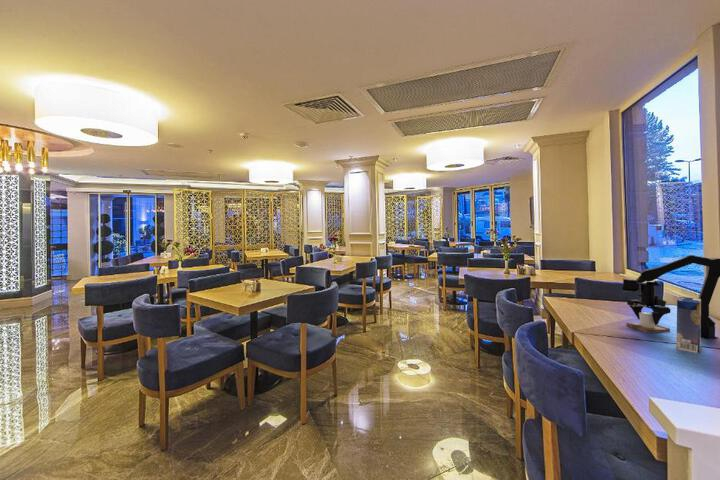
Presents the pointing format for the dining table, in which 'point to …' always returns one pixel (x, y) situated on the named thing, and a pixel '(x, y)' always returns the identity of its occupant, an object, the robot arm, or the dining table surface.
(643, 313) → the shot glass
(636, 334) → the dining table surface
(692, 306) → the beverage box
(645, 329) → the serving board
